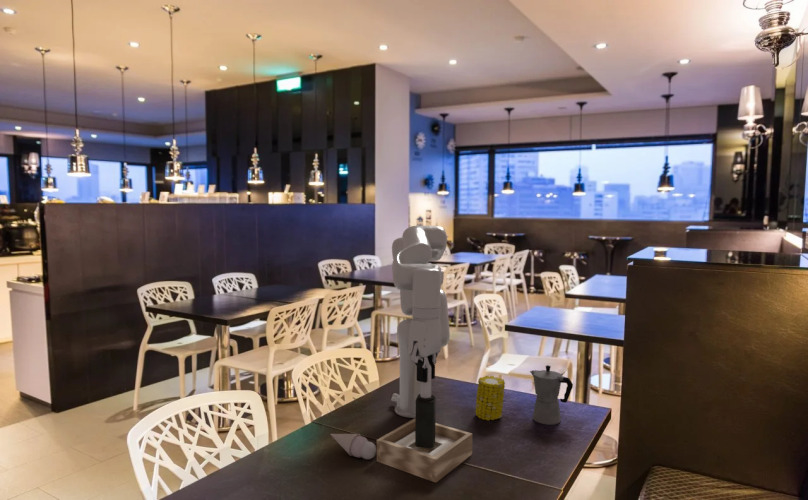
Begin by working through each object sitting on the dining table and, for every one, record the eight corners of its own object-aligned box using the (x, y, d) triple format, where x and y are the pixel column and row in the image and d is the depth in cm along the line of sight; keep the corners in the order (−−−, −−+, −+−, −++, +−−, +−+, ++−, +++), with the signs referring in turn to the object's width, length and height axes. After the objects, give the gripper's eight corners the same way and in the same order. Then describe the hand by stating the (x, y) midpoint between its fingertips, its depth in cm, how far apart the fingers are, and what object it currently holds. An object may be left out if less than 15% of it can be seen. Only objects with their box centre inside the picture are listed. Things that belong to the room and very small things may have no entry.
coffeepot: (521, 417, 174) (522, 363, 173) (537, 409, 180) (538, 358, 179) (563, 431, 163) (565, 374, 161) (578, 423, 169) (580, 368, 168)
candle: (433, 448, 142) (434, 357, 140) (414, 446, 143) (415, 356, 141) (435, 440, 147) (436, 352, 145) (417, 438, 148) (418, 351, 146)
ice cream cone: (328, 447, 151) (373, 467, 145) (320, 441, 146) (366, 461, 140) (338, 426, 154) (382, 445, 148) (331, 420, 149) (376, 439, 143)
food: (487, 413, 180) (506, 424, 173) (463, 413, 174) (483, 424, 167) (496, 373, 181) (516, 382, 173) (473, 371, 174) (492, 380, 167)
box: (376, 461, 143) (376, 439, 143) (416, 436, 159) (416, 417, 158) (435, 482, 132) (436, 459, 132) (472, 454, 148) (472, 433, 147)
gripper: (431, 307, 151) (430, 369, 152) (397, 316, 138) (396, 385, 139) (453, 310, 147) (452, 374, 148) (421, 320, 133) (420, 391, 135)
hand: (425, 379), depth 144 cm, fingers closed on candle, 3 cm apart
